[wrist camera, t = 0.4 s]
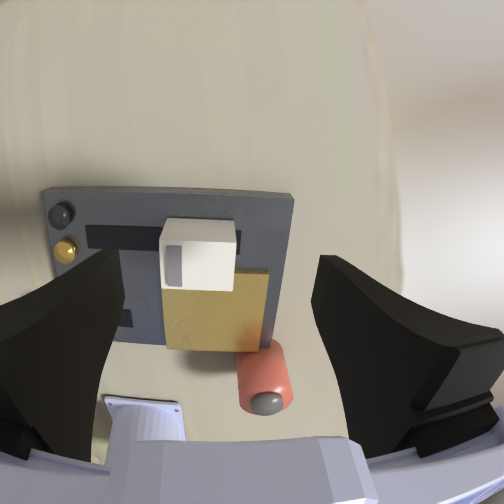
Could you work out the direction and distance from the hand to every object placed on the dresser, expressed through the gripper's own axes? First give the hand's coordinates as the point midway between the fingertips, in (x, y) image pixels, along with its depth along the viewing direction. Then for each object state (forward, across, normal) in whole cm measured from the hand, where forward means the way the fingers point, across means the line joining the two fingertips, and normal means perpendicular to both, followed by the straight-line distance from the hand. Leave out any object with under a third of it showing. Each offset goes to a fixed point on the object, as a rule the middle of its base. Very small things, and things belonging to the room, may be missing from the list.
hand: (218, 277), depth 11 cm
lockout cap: (+10, -4, +14) cm, 17 cm away
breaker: (+8, +1, +3) cm, 9 cm away
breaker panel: (+10, +4, +6) cm, 12 cm away
